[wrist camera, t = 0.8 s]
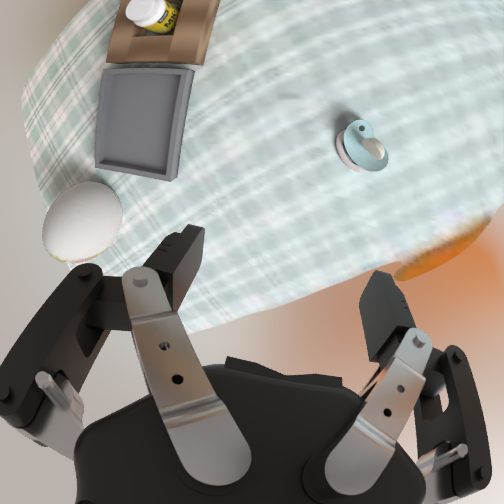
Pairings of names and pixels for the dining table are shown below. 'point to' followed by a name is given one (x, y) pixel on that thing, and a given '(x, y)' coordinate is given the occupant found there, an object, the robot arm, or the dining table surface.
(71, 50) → the dining table surface
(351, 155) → the pacifier
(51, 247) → the decorative egg
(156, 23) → the supplement bottle
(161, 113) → the charcoal tray
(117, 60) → the walnut holder
